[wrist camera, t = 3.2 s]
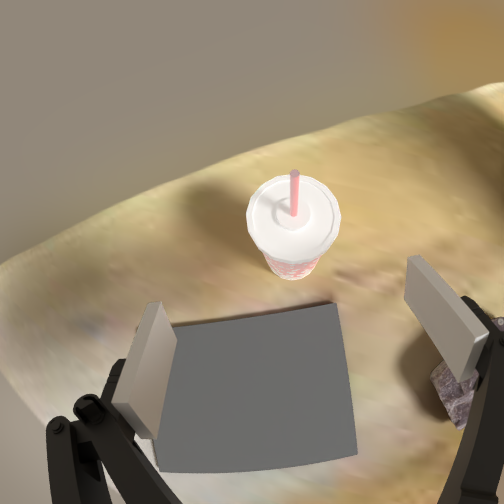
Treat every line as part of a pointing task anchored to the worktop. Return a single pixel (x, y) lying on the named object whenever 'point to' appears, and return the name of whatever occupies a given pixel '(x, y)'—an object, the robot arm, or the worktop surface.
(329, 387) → the stop mat
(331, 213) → the beverage cup
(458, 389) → the rock
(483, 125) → the worktop surface
